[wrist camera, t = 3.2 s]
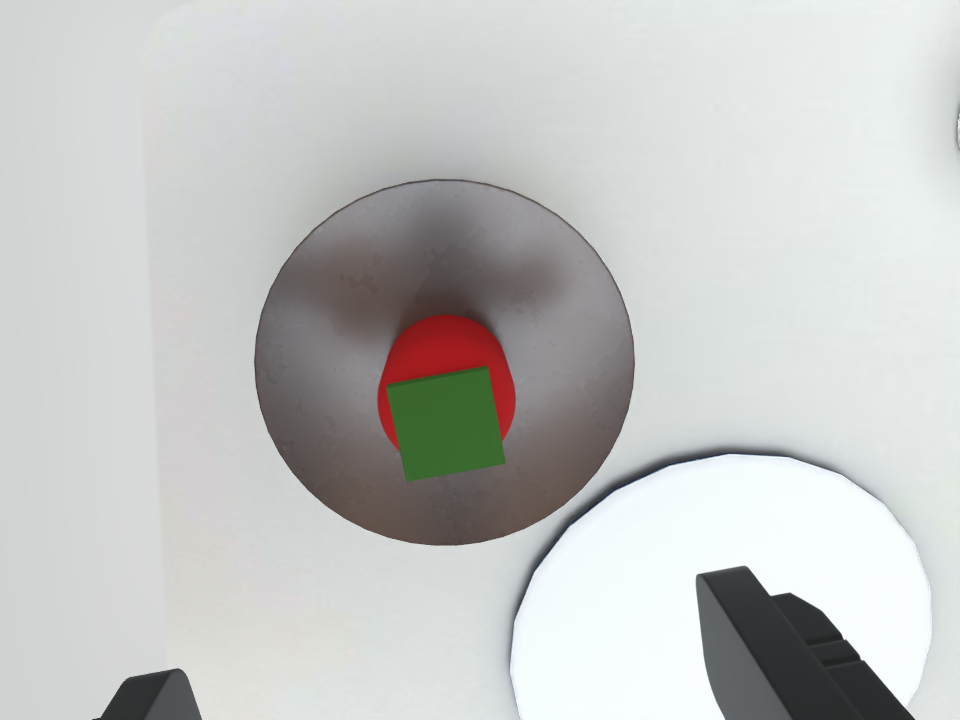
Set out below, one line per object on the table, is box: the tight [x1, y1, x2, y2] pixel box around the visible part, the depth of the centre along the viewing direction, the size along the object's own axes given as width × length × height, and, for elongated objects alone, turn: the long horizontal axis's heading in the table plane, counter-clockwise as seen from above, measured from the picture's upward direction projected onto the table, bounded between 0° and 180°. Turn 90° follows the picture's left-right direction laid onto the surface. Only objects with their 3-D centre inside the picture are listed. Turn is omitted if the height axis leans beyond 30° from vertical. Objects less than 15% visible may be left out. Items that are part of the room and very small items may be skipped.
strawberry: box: [377, 315, 516, 482], centre depth 22 cm, size 4×4×5 cm
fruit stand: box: [254, 179, 635, 545], centre depth 31 cm, size 13×13×13 cm
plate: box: [510, 453, 932, 720], centre depth 42 cm, size 25×25×1 cm
